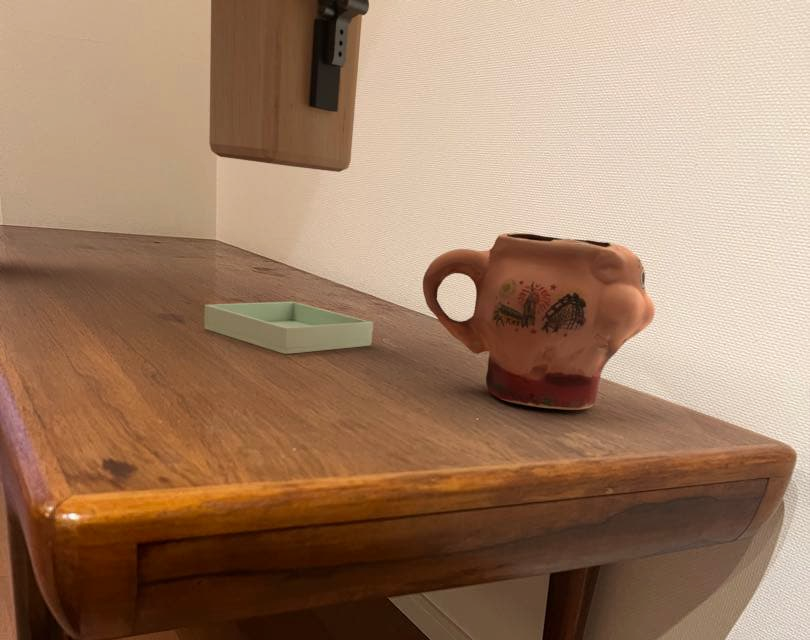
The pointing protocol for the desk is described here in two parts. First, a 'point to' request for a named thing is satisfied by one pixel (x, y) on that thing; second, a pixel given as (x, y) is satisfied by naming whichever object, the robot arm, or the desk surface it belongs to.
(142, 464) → the desk surface
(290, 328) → the shallow tray
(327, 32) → the robot arm
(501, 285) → the terracotta mug
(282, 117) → the block
